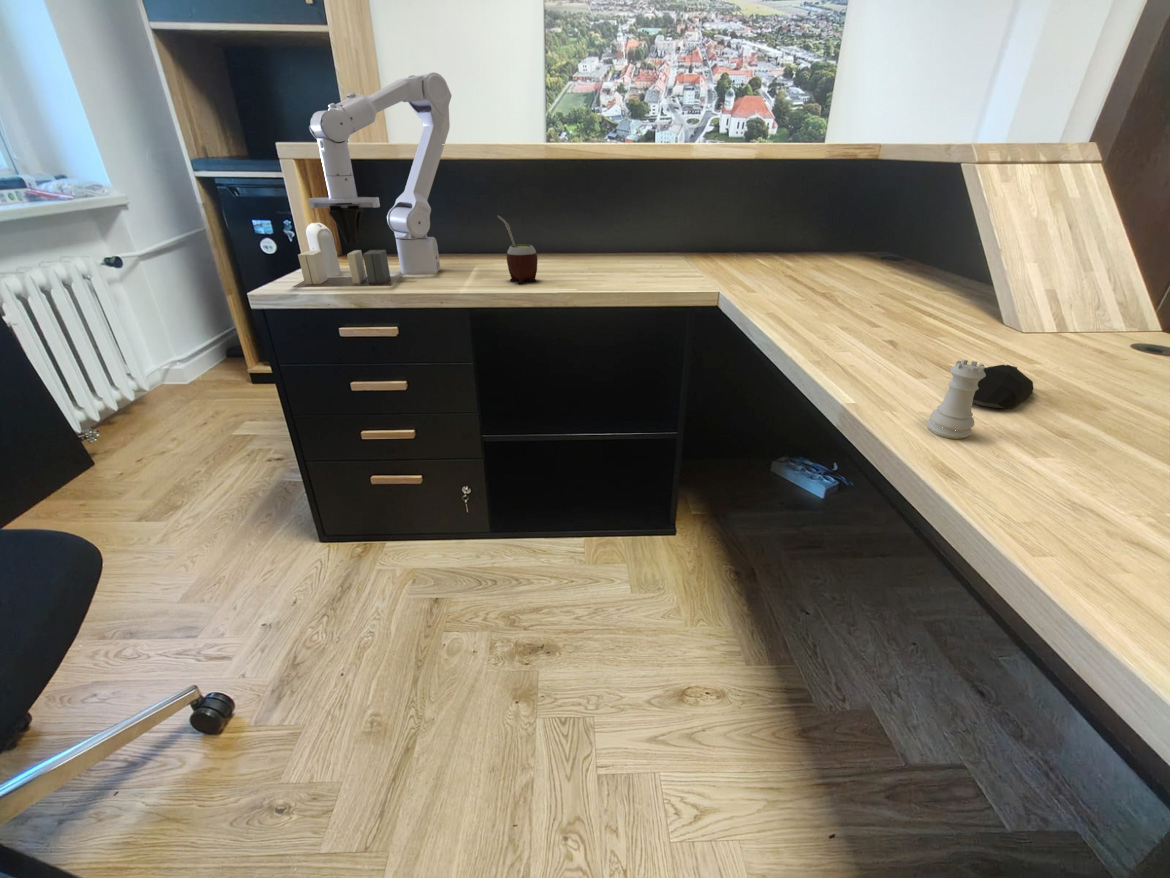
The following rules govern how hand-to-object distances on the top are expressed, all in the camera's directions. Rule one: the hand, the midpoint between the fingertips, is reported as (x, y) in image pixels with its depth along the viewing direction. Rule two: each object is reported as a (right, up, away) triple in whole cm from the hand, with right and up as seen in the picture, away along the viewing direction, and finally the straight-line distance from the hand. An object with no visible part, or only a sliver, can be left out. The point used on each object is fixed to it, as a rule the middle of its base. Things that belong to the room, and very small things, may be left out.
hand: (352, 242), depth 124 cm
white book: (0, -8, +4) cm, 9 cm away
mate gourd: (+37, -7, +6) cm, 39 cm away
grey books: (+5, -7, +4) cm, 10 cm away
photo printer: (-12, -4, +13) cm, 18 cm away
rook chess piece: (+93, -43, -62) cm, 120 cm away
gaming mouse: (+106, -38, -53) cm, 124 cm away
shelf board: (-2, -8, +4) cm, 10 cm away
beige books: (-10, -8, +4) cm, 13 cm away
